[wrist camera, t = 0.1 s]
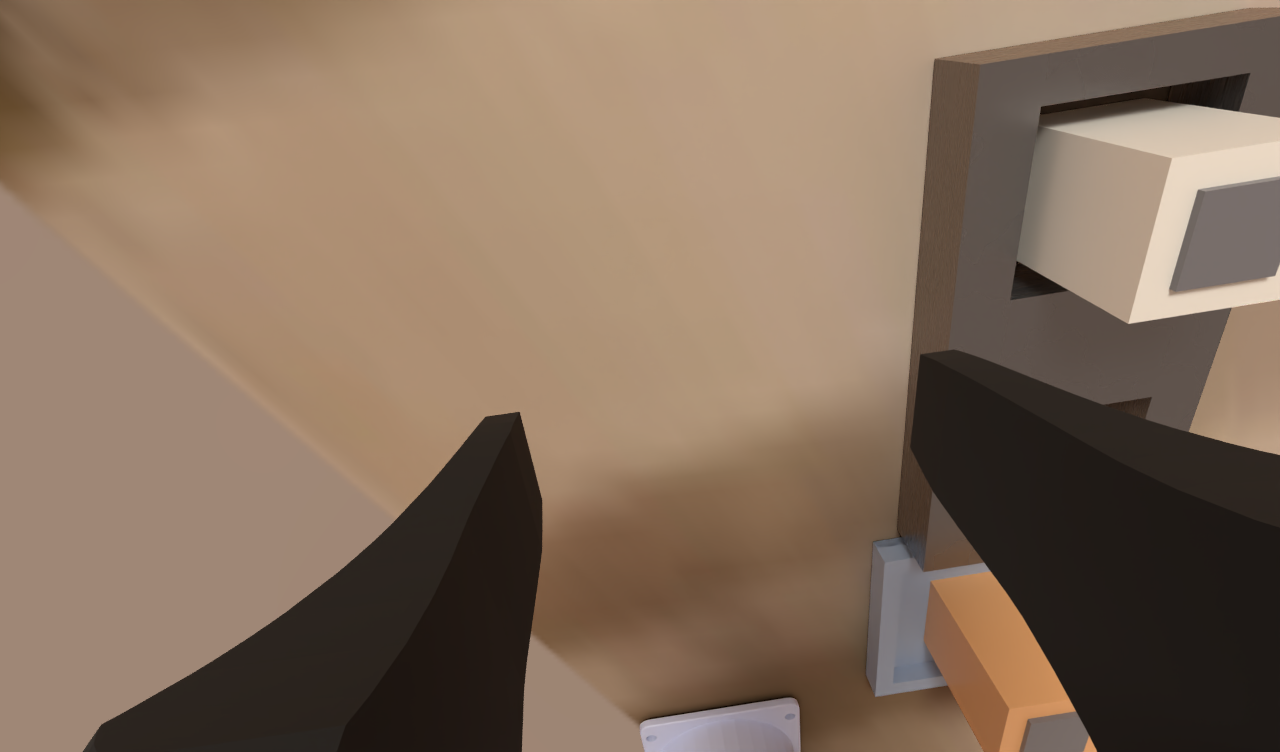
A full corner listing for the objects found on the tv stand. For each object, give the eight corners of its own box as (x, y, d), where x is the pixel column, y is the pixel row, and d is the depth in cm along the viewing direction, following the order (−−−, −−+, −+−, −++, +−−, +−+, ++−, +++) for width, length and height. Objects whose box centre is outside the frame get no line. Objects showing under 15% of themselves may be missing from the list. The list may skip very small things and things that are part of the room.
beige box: (1114, 228, 21) (1295, 301, 16) (993, 247, 21) (1134, 327, 16) (1144, 98, 19) (1364, 130, 14) (1012, 119, 19) (1179, 160, 14)
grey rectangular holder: (1110, 495, 27) (1156, 537, 25) (897, 529, 27) (924, 574, 25) (1253, 7, 18) (1344, 6, 16) (934, 58, 18) (982, 64, 16)
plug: (1007, 626, 30) (1099, 760, 25) (923, 640, 30) (997, 776, 25) (1020, 566, 28) (1123, 696, 23) (930, 580, 28) (1012, 714, 23)
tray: (1045, 646, 32) (1061, 667, 31) (865, 674, 32) (875, 696, 31) (1082, 508, 27) (1102, 528, 26) (873, 541, 27) (884, 562, 26)
